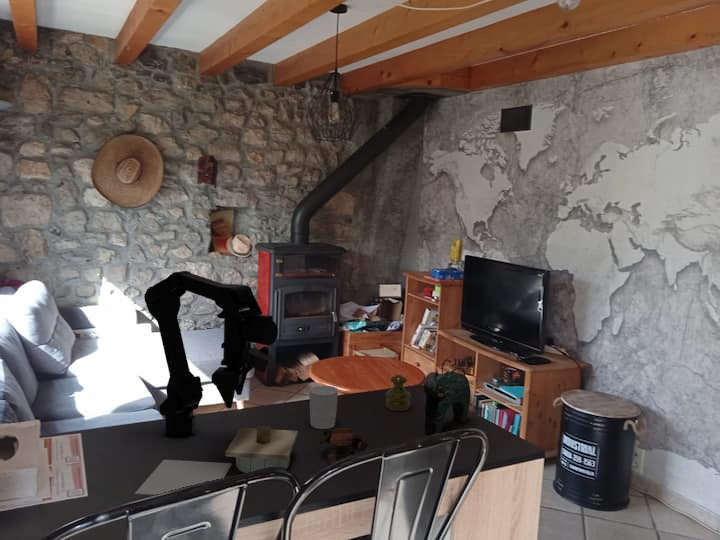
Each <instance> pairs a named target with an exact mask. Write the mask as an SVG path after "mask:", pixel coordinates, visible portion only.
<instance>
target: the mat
mask: <svg viewBox="0 0 720 540" xmlns="http://www.w3.org/2000/svg"><path fill="white" fill-rule="evenodd" d="M232 465H233V463H232V462H231V463H230V462H212V461H210V462H209V461H198V460H197V461H196V460H195V461H194V460H180V459H179V460H176V459H163V460H162V461H161V462H160V464H159V465H158V466H157V467H156V468H155V469H154V471H153V472H152V473H151V474H150V475H149V476H148V477H147V479H146V480H145V481H144V482H143V483H142V484H141V486H139V488H138V489H137V490H136V491H135V492H134V494H136V495H148V496H149V495H150V496H152V495H153V496H157V495H156V494H161V493H164V492H168V491H171V490H175V489H179V488H182V487H186V486H190V485H195V484H198V483H203V482H206V481H212V480H216V479H221V478H223V479H224V478H225V476H226V475H227V474H228V472H229V470H230V468H231V466H232Z"/></svg>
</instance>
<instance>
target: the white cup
mask: <svg viewBox="0 0 720 540" xmlns="http://www.w3.org/2000/svg"><path fill="white" fill-rule="evenodd" d="M338 397H339V388H337V387H335V386H331V385H315V386H312V387H310V388H309V416H310V417H309V418H310V426H311V427H313V428H314V429H318V430H327V429H328V430H330V429H332V428H334V427H335V425H336V416H337V410H338Z"/></svg>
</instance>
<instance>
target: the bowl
mask: <svg viewBox="0 0 720 540" xmlns="http://www.w3.org/2000/svg"><path fill="white" fill-rule="evenodd" d="M290 461H291V456H290V457H289V460H280V459H262V458H244V457H235V466H236V468H237V469H238V470H239V472H242V473H244V474H246V473H248V472H253V471H256V470H259V469H263V468H268V467H283V468H285V470H287V469H288V468H289V466H290V463H291V462H290Z"/></svg>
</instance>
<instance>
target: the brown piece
mask: <svg viewBox="0 0 720 540" xmlns="http://www.w3.org/2000/svg"><path fill="white" fill-rule="evenodd" d="M322 434H323V436H322V438H321V439H320V441H319V444H320V445H322V444H325V443H327V444H330V445H332V446H333V449H334V453H331V454H328V455H327V459H328V463H329V464H328V465H332V464H331V463H333V462H335V461H338V460H340V459H342V458H345V457H347V456H350V455H353V454H356V453H360V452H363V453H364V452H365V451H366V450H367V447H368V446H369V443H368V441H367V439H368V438H367V437H365V436H363V435H360V434H359V435H354V433H353V429H352V428H350V427H349V428H334V429H328V430H327V429H326V430H324V431H322ZM359 443H361V445H360V447H359ZM353 456H354V455H353Z"/></svg>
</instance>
